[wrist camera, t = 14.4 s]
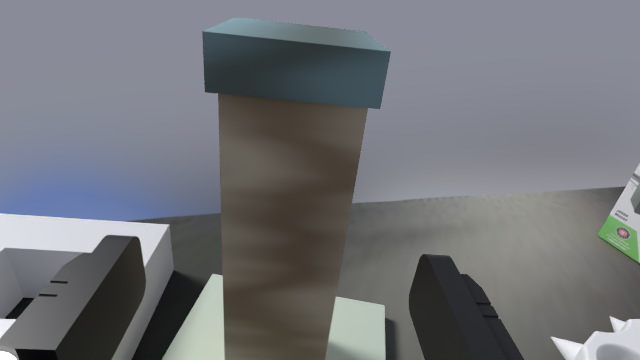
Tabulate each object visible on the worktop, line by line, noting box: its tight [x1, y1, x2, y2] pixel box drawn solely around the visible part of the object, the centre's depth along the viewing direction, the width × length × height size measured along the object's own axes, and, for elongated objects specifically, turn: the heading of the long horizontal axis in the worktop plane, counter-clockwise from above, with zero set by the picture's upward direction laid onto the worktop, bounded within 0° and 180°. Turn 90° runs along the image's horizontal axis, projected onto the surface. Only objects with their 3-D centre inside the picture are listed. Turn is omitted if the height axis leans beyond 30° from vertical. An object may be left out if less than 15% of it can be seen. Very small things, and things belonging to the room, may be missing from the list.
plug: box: [203, 17, 390, 360], centre depth 16 cm, size 5×5×17 cm
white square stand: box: [0, 214, 174, 360], centre depth 20 cm, size 12×12×4 cm
